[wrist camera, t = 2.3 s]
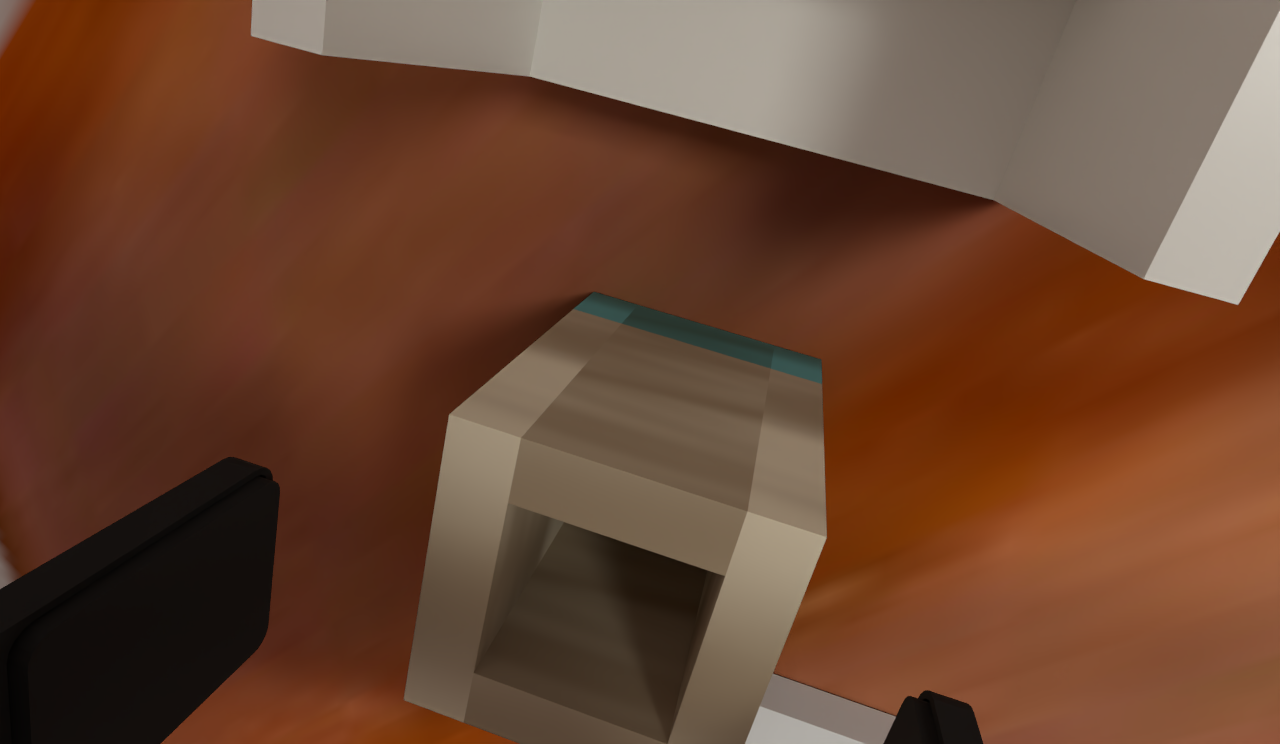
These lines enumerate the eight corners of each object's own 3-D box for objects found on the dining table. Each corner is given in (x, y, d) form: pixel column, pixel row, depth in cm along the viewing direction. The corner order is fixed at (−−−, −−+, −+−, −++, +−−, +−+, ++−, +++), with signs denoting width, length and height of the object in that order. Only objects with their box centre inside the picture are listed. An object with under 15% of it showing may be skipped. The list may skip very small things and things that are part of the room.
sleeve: (593, 291, 16) (449, 414, 10) (821, 359, 16) (827, 537, 9) (549, 487, 18) (403, 700, 12) (751, 555, 18) (715, 817, 11)
